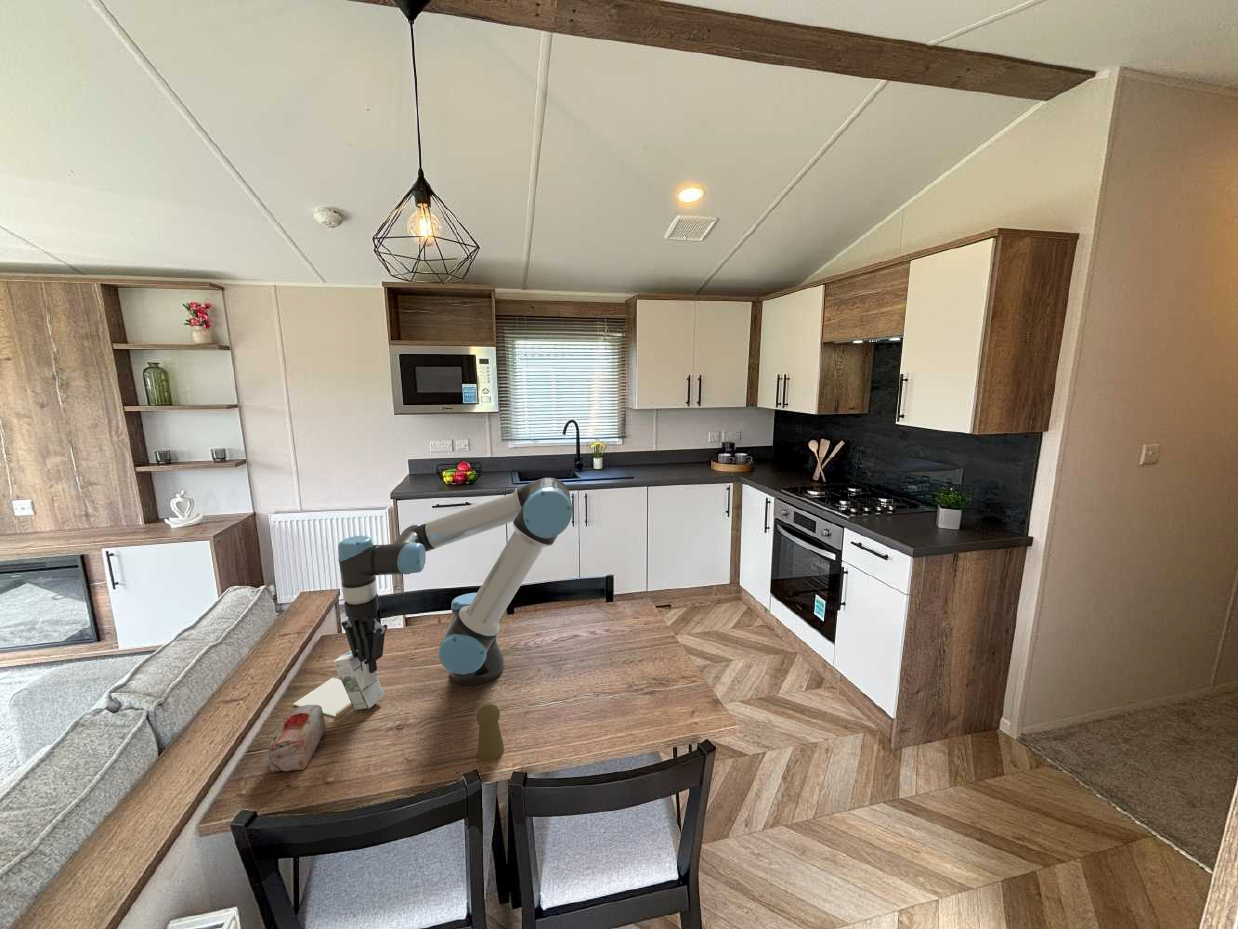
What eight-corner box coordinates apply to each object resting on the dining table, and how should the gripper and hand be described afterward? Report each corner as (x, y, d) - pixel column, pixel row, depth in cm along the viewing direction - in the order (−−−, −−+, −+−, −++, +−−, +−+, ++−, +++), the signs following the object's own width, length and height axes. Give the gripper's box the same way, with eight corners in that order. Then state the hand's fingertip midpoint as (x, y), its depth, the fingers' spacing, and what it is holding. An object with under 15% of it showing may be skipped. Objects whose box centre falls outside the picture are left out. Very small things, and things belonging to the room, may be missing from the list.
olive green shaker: (480, 742, 117) (476, 700, 115) (505, 740, 117) (503, 699, 115) (474, 762, 111) (471, 718, 109) (502, 759, 112) (499, 716, 109)
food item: (308, 773, 109) (302, 733, 107) (268, 780, 107) (261, 740, 105) (329, 730, 122) (324, 694, 120) (293, 736, 120) (287, 699, 118)
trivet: (375, 689, 137) (375, 686, 137) (338, 718, 126) (337, 714, 126) (332, 678, 142) (332, 675, 142) (293, 705, 131) (292, 701, 131)
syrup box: (386, 695, 132) (365, 645, 131) (368, 709, 126) (346, 657, 125) (371, 698, 134) (350, 649, 133) (353, 712, 128) (331, 661, 127)
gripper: (392, 595, 125) (401, 678, 129) (353, 588, 129) (363, 669, 134) (369, 608, 118) (379, 696, 122) (328, 600, 122) (339, 686, 127)
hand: (370, 682), depth 128 cm, fingers closed
